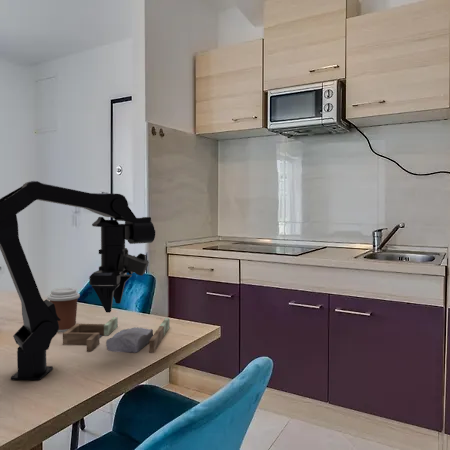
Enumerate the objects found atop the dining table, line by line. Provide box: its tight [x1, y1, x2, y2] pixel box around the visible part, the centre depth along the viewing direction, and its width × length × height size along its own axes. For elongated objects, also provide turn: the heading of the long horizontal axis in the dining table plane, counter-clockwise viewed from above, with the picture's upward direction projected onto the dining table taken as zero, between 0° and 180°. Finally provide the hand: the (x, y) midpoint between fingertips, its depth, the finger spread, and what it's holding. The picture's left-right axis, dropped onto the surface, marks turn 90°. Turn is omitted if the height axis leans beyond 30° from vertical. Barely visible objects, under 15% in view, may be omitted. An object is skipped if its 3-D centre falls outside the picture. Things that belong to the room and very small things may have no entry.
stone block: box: [105, 327, 154, 353], centre depth 110 cm, size 12×5×10 cm
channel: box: [62, 316, 170, 353], centre depth 115 cm, size 22×26×3 cm
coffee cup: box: [47, 287, 81, 333], centre depth 124 cm, size 9×9×12 cm
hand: (113, 307), depth 101 cm, fingers open, 9 cm apart
